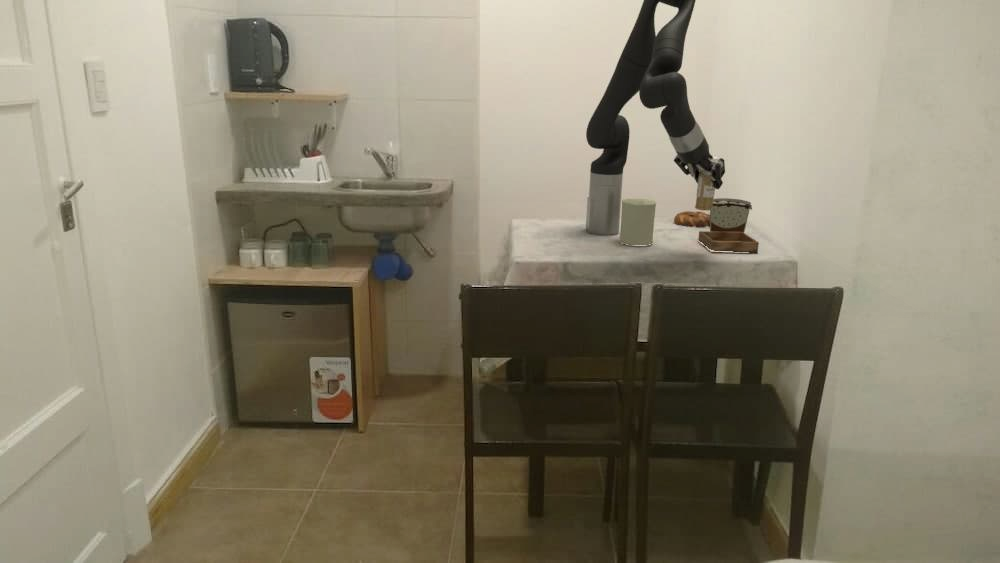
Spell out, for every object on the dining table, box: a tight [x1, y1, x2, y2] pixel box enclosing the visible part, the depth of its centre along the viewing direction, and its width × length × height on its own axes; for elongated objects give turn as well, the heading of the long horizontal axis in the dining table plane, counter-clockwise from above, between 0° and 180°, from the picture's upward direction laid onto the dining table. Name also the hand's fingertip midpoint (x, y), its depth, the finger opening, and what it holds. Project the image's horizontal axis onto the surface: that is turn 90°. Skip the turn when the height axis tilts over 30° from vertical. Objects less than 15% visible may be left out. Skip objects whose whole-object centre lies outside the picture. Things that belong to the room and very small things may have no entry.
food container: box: [709, 197, 753, 233], centre depth 213 cm, size 12×6×10 cm, turn 84°
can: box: [618, 198, 657, 245], centre depth 199 cm, size 9×9×12 cm
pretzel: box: [673, 211, 710, 228], centre depth 226 cm, size 12×11×4 cm
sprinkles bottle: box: [694, 156, 720, 211], centre depth 187 cm, size 5×5×13 cm
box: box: [698, 230, 760, 254], centre depth 198 cm, size 12×12×3 cm
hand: (710, 184), depth 188 cm, fingers closed on sprinkles bottle, 4 cm apart
